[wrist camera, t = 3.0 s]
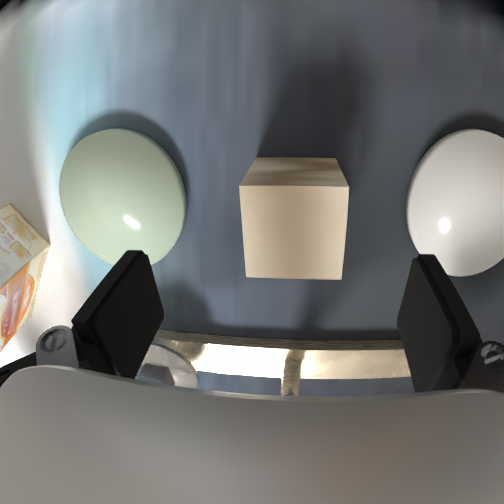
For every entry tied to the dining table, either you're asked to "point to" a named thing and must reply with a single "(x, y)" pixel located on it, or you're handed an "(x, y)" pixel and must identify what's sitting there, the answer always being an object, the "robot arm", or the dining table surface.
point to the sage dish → (122, 195)
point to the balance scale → (268, 359)
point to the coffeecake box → (18, 270)
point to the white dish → (459, 202)
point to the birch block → (294, 218)
